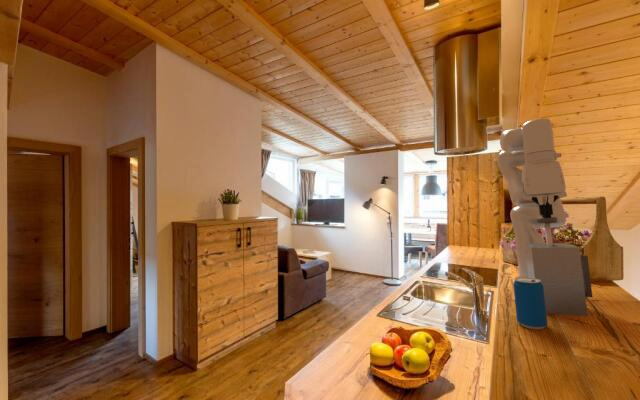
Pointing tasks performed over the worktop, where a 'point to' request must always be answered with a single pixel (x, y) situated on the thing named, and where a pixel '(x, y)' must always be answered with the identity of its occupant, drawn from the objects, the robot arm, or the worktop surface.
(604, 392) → the worktop surface
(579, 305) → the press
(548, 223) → the plunger
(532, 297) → the beverage can
